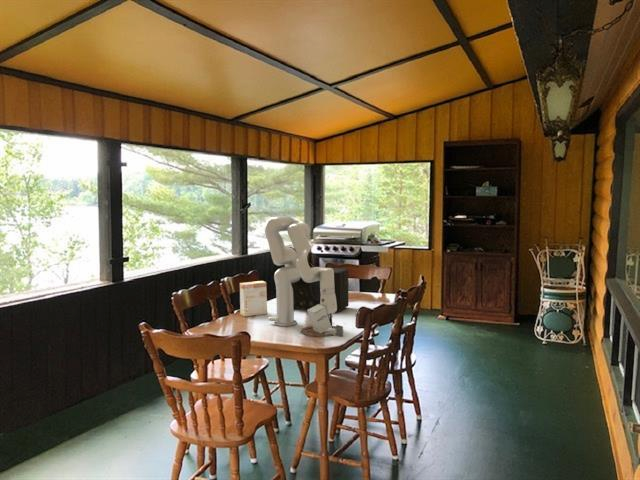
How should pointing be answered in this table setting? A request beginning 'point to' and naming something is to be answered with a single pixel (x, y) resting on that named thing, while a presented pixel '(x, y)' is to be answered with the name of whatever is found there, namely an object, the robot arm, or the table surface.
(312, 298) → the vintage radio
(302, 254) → the robot arm
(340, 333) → the collar
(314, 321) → the supplement box
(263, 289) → the coffeecake box
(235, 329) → the table surface
